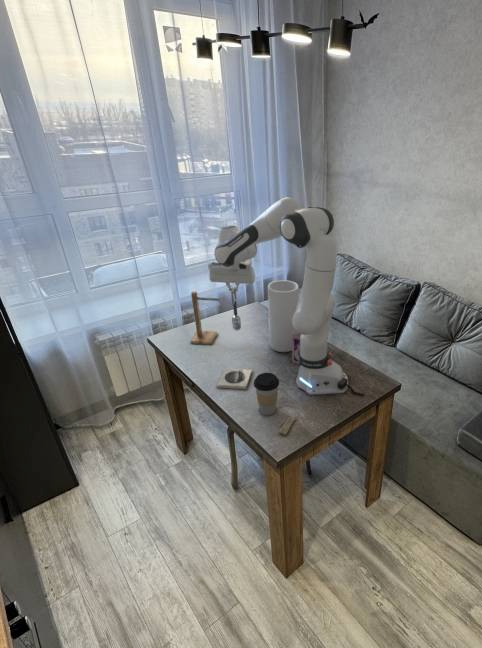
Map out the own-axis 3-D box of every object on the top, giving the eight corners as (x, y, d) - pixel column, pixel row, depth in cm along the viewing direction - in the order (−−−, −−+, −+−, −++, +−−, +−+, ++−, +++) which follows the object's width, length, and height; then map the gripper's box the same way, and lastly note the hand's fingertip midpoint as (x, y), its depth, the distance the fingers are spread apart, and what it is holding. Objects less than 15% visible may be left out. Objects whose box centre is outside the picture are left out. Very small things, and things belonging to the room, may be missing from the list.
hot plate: (251, 372, 174) (251, 369, 174) (246, 389, 164) (245, 386, 163) (224, 370, 175) (224, 367, 174) (217, 387, 164) (216, 384, 163)
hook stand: (227, 334, 201) (222, 289, 189) (221, 345, 193) (216, 298, 180) (197, 333, 202) (191, 287, 189) (191, 343, 193) (183, 296, 180)
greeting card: (291, 363, 182) (291, 335, 174) (298, 355, 188) (298, 327, 180) (313, 369, 178) (314, 341, 170) (320, 361, 184) (321, 333, 176)
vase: (263, 347, 193) (260, 287, 177) (281, 335, 203) (280, 277, 187) (287, 356, 187) (286, 295, 170) (304, 343, 197) (305, 284, 181)
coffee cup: (275, 420, 149) (274, 388, 141) (251, 416, 150) (249, 384, 143) (283, 404, 157) (282, 373, 149) (260, 400, 158) (258, 369, 151)
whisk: (242, 327, 196) (239, 287, 185) (239, 333, 191) (236, 292, 180) (234, 327, 196) (230, 287, 185) (231, 332, 191) (227, 291, 180)
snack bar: (286, 434, 142) (278, 430, 142) (284, 437, 143) (277, 433, 143) (296, 417, 149) (289, 413, 150) (295, 420, 150) (288, 416, 151)
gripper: (205, 263, 174) (209, 292, 181) (252, 266, 173) (253, 295, 180) (209, 259, 179) (213, 287, 186) (254, 261, 179) (256, 289, 186)
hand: (233, 291), depth 183 cm, fingers closed on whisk
